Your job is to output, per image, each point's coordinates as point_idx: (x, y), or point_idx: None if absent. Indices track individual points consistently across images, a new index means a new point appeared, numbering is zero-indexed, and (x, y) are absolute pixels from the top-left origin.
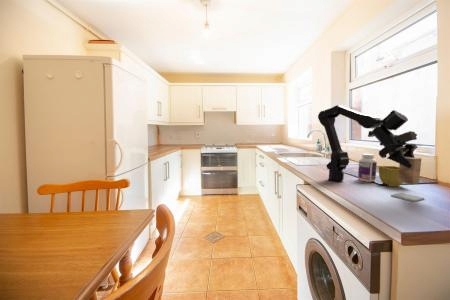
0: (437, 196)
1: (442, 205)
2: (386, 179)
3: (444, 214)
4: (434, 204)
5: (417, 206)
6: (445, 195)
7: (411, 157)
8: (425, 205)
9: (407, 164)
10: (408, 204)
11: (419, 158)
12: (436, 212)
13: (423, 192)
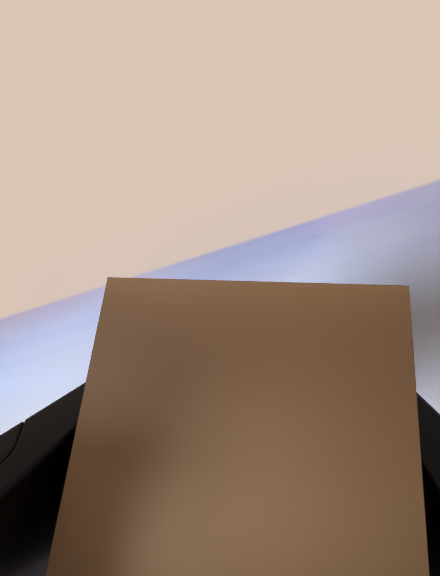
0: (94, 317)
1: (266, 244)
2: None
3: (431, 185)
4: (284, 267)
5: (422, 293)
6: (42, 305)
7: (89, 472)
8: (353, 281)
9: None
10: (434, 333)
11: (156, 291)
12: (436, 211)
13: (56, 389)
